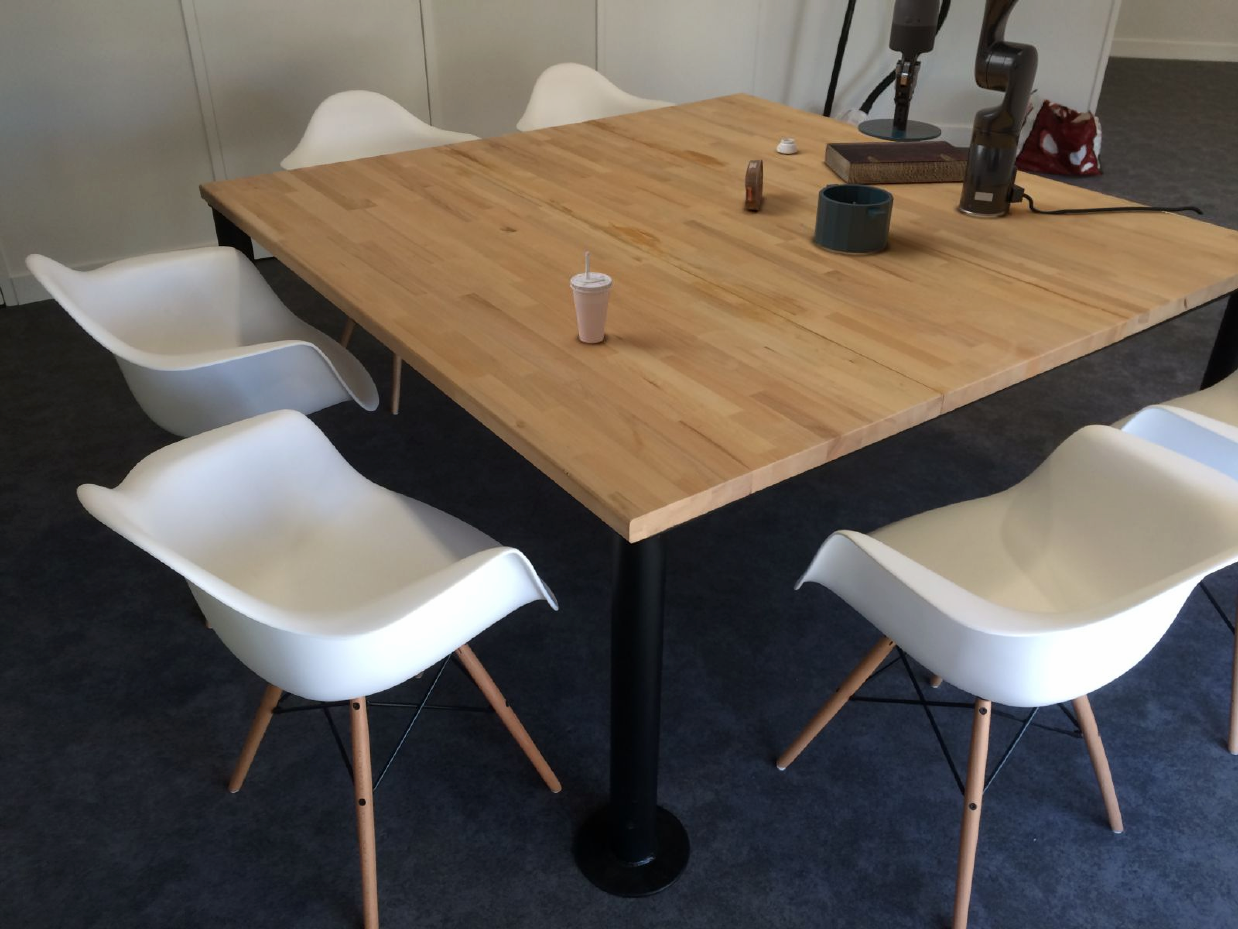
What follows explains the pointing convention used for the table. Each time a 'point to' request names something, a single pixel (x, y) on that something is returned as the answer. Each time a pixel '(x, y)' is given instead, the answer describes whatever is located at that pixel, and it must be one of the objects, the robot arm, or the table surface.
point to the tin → (754, 184)
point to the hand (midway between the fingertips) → (900, 124)
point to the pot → (853, 218)
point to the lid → (899, 130)
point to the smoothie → (591, 303)
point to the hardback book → (896, 161)
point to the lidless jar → (787, 146)
